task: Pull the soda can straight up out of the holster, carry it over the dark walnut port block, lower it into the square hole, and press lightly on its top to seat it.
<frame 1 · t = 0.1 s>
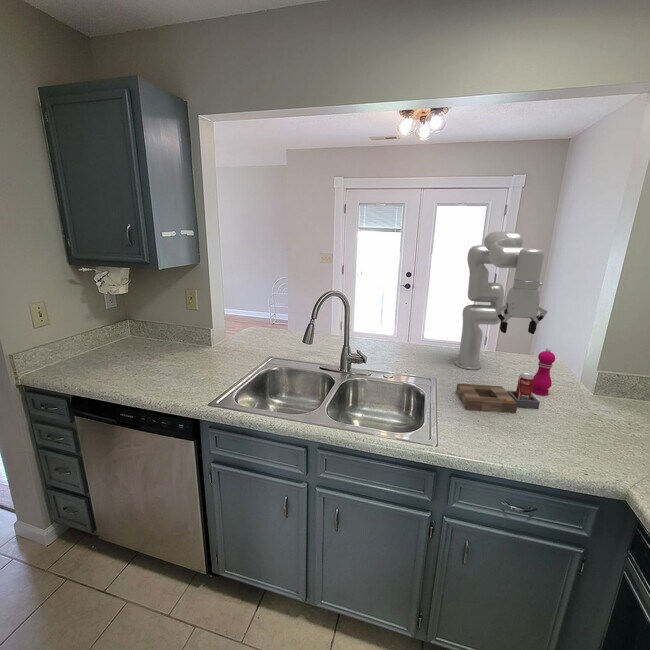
hand: (517, 332, 122), 31 cm above the worktop, tool pointing down, fingers open, 9 cm apart
pepper mill: (539, 392, 145), on the worktop
holster: (521, 402, 136), on the worktop
port block: (484, 402, 136), on the worktop
soda can: (521, 403, 136), resting in holster
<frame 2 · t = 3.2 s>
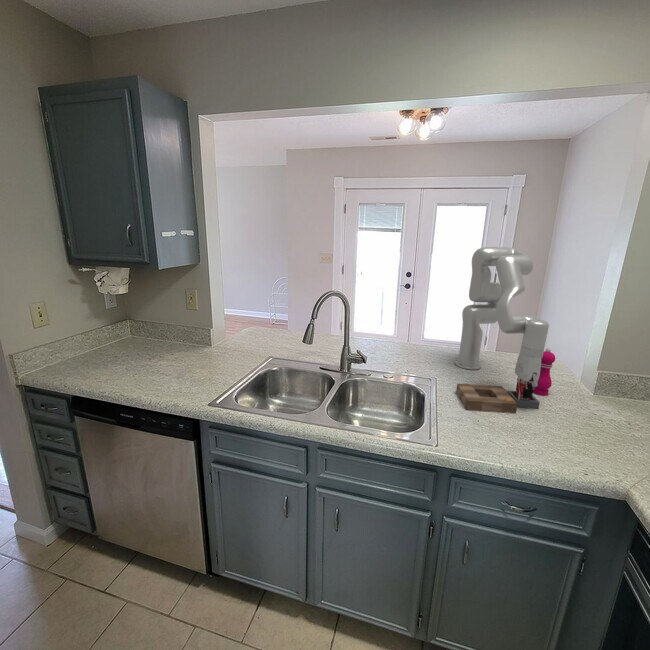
hand: (523, 393, 135), 4 cm above the worktop, tool pointing down, fingers closed on soda can, 5 cm apart
soda can: (521, 403, 136), resting in holster, touching gripper
everything else where it was.
when the fingers open (5 cm above the worktop, at t = 10.2 s): soda can drops 1 cm, resting in port block.
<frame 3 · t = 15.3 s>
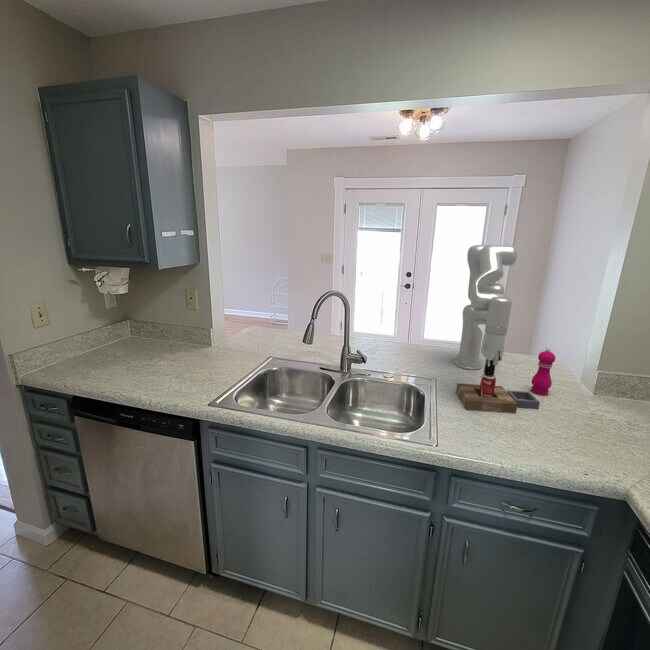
hand: (488, 374, 132), 12 cm above the worktop, tool pointing down, fingers closed
soda can: (484, 402, 136), resting in port block, touching gripper
everything else where it was.
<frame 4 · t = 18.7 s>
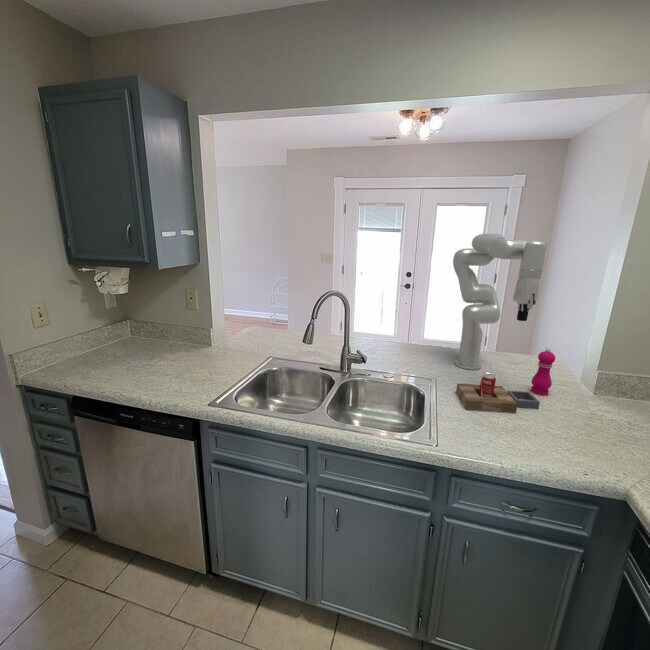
hand: (521, 320, 135), 32 cm above the worktop, tool pointing down, fingers closed
soda can: (484, 402, 136), resting in port block
everything else where it was.
at the end: soda can 0.2 cm off-centre on the port block, point 0.0 cm above the port block's base; soda can tilted 0°; the gripper is holding nothing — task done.
